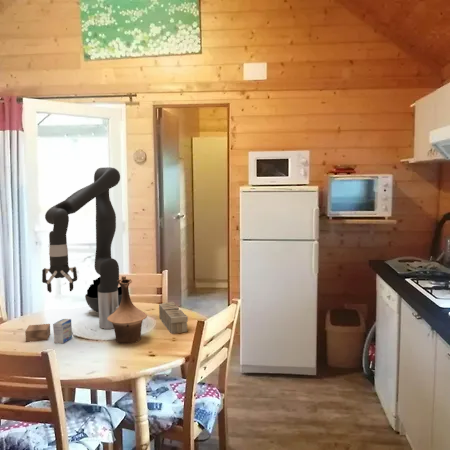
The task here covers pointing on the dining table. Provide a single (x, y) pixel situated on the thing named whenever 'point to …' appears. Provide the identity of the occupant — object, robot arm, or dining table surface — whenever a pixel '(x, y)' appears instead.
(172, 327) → the block tower
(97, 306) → the bowl of black rocks
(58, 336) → the medicine box
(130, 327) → the brown clay vase
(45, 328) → the walnut block
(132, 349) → the dining table surface
